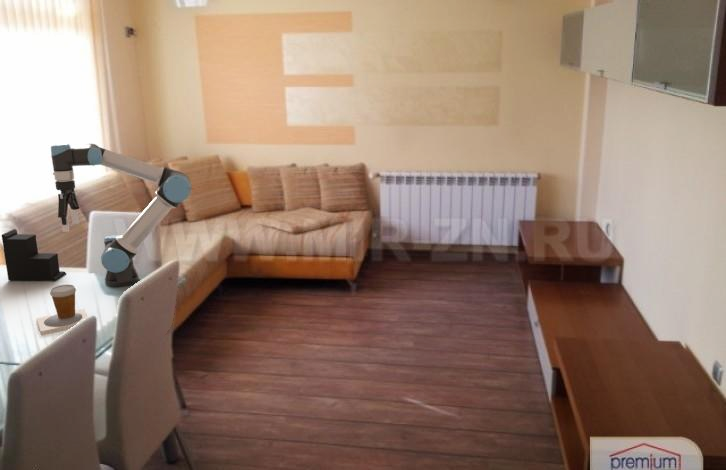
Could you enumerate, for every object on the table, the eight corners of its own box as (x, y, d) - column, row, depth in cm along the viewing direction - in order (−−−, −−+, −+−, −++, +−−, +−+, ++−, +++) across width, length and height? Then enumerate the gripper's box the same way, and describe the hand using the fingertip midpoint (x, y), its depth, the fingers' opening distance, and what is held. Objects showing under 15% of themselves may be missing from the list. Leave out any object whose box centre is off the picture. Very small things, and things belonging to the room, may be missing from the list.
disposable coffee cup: (55, 312, 248) (51, 285, 245) (80, 309, 251) (76, 283, 248) (52, 321, 239) (47, 293, 236) (78, 318, 242) (74, 290, 239)
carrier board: (84, 312, 253) (84, 308, 252) (91, 324, 241) (90, 320, 240) (36, 321, 243) (36, 318, 243) (41, 334, 231) (40, 331, 231)
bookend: (66, 274, 300) (60, 229, 293) (55, 281, 289) (49, 234, 283) (20, 274, 300) (13, 228, 294) (8, 281, 290) (0, 234, 283)
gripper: (64, 175, 269) (71, 221, 275) (45, 185, 245) (52, 235, 251) (82, 174, 270) (88, 220, 276) (64, 185, 246) (71, 234, 252)
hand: (71, 227), depth 263 cm, fingers open, 13 cm apart
